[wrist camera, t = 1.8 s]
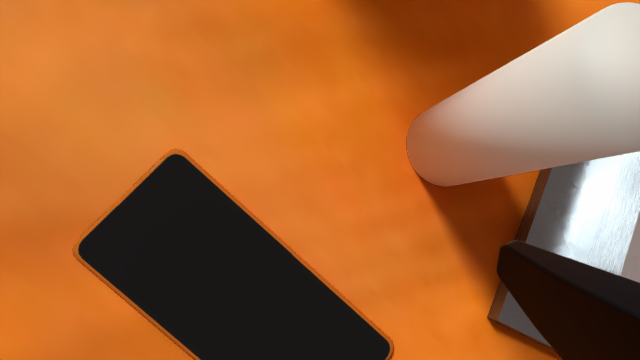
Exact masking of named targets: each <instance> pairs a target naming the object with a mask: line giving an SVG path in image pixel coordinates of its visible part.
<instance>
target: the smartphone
mask: <svg viewBox="0 0 640 360" xmlns="http://www.w3.org/2000/svg"><path fill="white" fill-rule="evenodd" d="M73 255H74V256H75V257H76V259H77V260H79V261H80V262H81V263H82V264H83V265H84V266H86V267H87V268H88V269H89V270H90V271H91V272H93V273H94V274H95V275H96V276H97V277H98V278H100V279H101V280H102V281H103V282H104V283H106V284H107V285H108V286H109V287H110V288H111V289H113V290H114V291H115V292H116V293H117V294H118V295H120V296H121V297H122V298H123V299H124V300H125V301H127V302H128V303H129V304H130V305H131V306H133V307H134V308H135V309H136V310H137V311H138V312H140V313H141V314H142V315H143V316H144V317H145V318H147V319H148V320H149V321H150V322H151V323H152V324H154V325H155V326H156V327H157V328H158V329H160V330H161V331H162V332H163V333H164V334H165V335H167V336H168V337H169V338H170V339H171V340H172V341H174V342H175V343H176V344H177V345H178V346H179V347H181V348H182V349H183V350H184V351H185V352H187V353H188V354H189V355H190V356H191V357H192V358H194V359H195V360H388V359H389V358H390V356H391V355H392V353H393V350H394V344H393V341H392V340H391V339H390V338H389V337H388V336H387V335H386V334H385V333H384V332H383V331H382V330H381V329H379V328H378V327H377V326H376V325H375V324H374V323H373V322H372V321H371V320H369V319H368V318H367V317H366V316H365V315H364V314H363V313H362V312H361V311H360V310H358V309H357V308H356V307H355V306H354V305H353V304H352V303H351V302H350V301H349V300H347V299H346V298H345V297H344V296H343V295H342V294H341V293H340V292H339V291H337V290H336V289H335V288H334V287H333V286H332V285H331V284H330V283H329V282H328V281H326V280H325V279H324V278H323V277H322V276H321V275H320V274H319V273H318V272H317V271H315V270H314V269H313V268H312V267H311V266H310V265H309V264H308V263H307V262H305V261H304V260H303V259H302V258H301V257H300V256H299V255H298V254H297V253H296V252H294V251H293V250H292V249H291V248H290V247H289V246H288V245H287V244H286V243H285V242H283V241H282V240H281V239H280V238H279V237H278V236H277V235H276V234H275V233H273V232H272V231H271V230H270V229H269V228H268V227H267V226H266V225H265V224H264V223H262V222H261V221H260V220H259V219H258V218H257V217H256V216H255V215H254V214H253V213H251V212H250V211H249V210H248V209H247V208H246V207H245V206H244V205H243V204H241V203H240V202H239V201H238V200H237V199H236V198H235V197H234V196H233V195H232V194H230V193H229V192H228V191H227V190H226V189H225V188H224V187H223V186H222V185H221V184H219V183H218V182H217V181H216V180H215V179H214V178H213V177H212V176H211V175H209V174H208V173H207V172H206V171H205V170H204V169H203V168H202V167H201V166H200V165H198V164H197V163H196V162H195V161H194V160H193V159H192V158H191V157H190V156H189V155H187V154H186V153H185V152H184V151H182V150H180V149H173V150H170V151H169V152H167V153H166V154H165V155H164V156H163V157H162V158H161V159H160V160H159V161H158V162H157V163H156V164H155V165H154V166H153V167H152V168H151V169H150V170H149V171H148V172H147V173H146V174H145V175H144V176H143V177H141V178H140V179H139V180H138V181H137V182H136V183H135V184H134V185H133V186H132V187H131V188H130V189H129V190H128V191H127V192H126V193H125V194H124V195H123V196H122V197H121V198H120V199H119V200H118V201H117V202H116V203H115V204H114V205H113V206H112V207H111V208H110V209H109V210H108V211H107V212H106V213H105V214H103V215H102V216H101V217H100V218H99V219H98V220H97V221H96V222H95V223H94V224H93V225H92V226H91V227H90V228H89V229H88V230H87V231H86V232H85V233H84V234H83V235H82V236H81V237H80V238H79V239H78V240H77V241H76V242H75V244H74V245H73Z"/></svg>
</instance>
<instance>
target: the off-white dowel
mask: <svg viewBox="0 0 640 360" xmlns="http://www.w3.org/2000/svg"><path fill="white" fill-rule="evenodd" d="M406 149H407V155H408V158H409V161H410V163H411V165H412V166H413V168H414V170H415V171H416V172H417V173H418V174H419V175H420V176H421V177H422V178H423V179H424V180H426V181H427V182H429V183H431V184H434V185H437V186H443V187H449V186H455V185H460V184H466V183H471V182H476V181H482V180H487V179H493V178H498V177H503V176H509V175H514V174H520V173H525V172H530V171H536V170H541V169H547V168H552V167H558V166H563V165H568V164H574V163H579V162H585V161H590V160H595V159H601V158H606V157H612V156H617V155H622V154H628V153H633V152H639V151H640V4H637V3H628V2H627V3H618V4H613V5H611V6H608V7H606V8H604V9H602V10H601V11H599V12H597V13H595V14H594V15H592V16H590V17H588V18H587V19H585V20H583V21H581V22H580V23H578V24H576V25H574V26H572V27H571V28H569V29H567V30H565V31H564V32H562V33H560V34H558V35H557V36H555V37H553V38H551V39H550V40H548V41H546V42H544V43H543V44H541V45H539V46H537V47H536V48H534V49H532V50H530V51H529V52H527V53H525V54H523V55H522V56H520V57H518V58H516V59H515V60H513V61H511V62H509V63H508V64H506V65H504V66H502V67H501V68H499V69H497V70H495V71H494V72H492V73H490V74H488V75H487V76H485V77H483V78H481V79H480V80H478V81H476V82H474V83H473V84H471V85H469V86H467V87H466V88H464V89H462V90H460V91H459V92H457V93H455V94H453V95H452V96H450V97H448V98H446V99H445V100H443V101H441V102H439V103H438V104H436V105H434V106H432V107H431V108H429V109H427V110H425V111H424V112H422V113H421V114H419V115H418V116H417V117H416V118H415V119H414V121H413V122H412V124H411V125H410V128H409V130H408V133H407V138H406Z"/></svg>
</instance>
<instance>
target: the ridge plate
mask: <svg viewBox="0 0 640 360" xmlns="http://www.w3.org/2000/svg"><path fill="white" fill-rule="evenodd" d="M516 240H518V241H522V242H525V243H528V244H530V245H533V246H536V247H539V248H542V249H545V250H548V251H550V252H553V253H556V254H559V255H562V256H565V257H568V258H571V259H573V260H576V261H579V262H582V263H585V264H588V265H591V266H593V267H596V268H599V269H602V270H605V271H608V272H611V273H613V274H616V275H619V276H622V277H625V278H628V279H631V280H634V281H636V282H639V283H640V151H639V152H633V153H628V154H622V155H617V156H612V157H606V158H601V159H595V160H590V161H585V162H579V163H574V164H568V165H563V166H558V167H552V168H547V169H541V171H540V173H539V176H538V179H537V182H536V184H535V187H534V190H533V193H532V195H531V198H530V201H529V204H528V206H527V209H526V212H525V215H524V218H523V220H522V223H521V226H520V229H519V231H518V234H517V237H516ZM488 318H490V319H492V320H494V321H496V322H498V323H500V324H502V325H504V326H506V327H508V328H510V329H512V330H514V331H516V332H518V333H520V334H522V335H524V336H526V337H529V338H531V339H533V340H535V341H537V342H539V343H541V344H543V345H545V346H547V347H549V348H551V349H553V348H552V347H551V346H550V344H549V343H548V342H547V341H546V340H545V339H544V338H543V336H542V335H541V334H540V333H539V332H538V330H537V329H536V328H535V327H534V325H533V324H532V323H531V321H530V320H529V318H528V317H527V316H526V314H525V313H524V312H523V310H522V309H521V307H520V306H519V305H518V303H517V302H516V300H515V299H514V298H513V296H512V295H511V293H510V292H509V291H508V289H507V288H506V286H505V285H504V284H503V282H502V281H500V284H499V287H498V289H497V292H496V295H495V298H494V300H493V303H492V306H491V309H490V311H489V314H488ZM553 350H554V349H553Z"/></svg>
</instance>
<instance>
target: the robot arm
mask: <svg viewBox="0 0 640 360" xmlns="http://www.w3.org/2000/svg"><path fill="white" fill-rule="evenodd" d="M497 273H498V276H499V278H500V280H501V281H502V282H503V284H504V285H505V286H506V288H507V289H508V291H509V292H510V293H511V295H512V296H513V298H514V299H515V300H516V302H517V303H518V305H519V306H520V307H521V309H522V310H523V312H524V313H525V314H526V316H527V317H528V318H529V320H530V321H531V323H532V324H533V325H534V327H535V328H536V329H537V330H538V332H539V333H540V334H541V335H542V336H543V338H544V339H545V340H546V341H547V342H548V343H549V344H550V346H551V347H552V348H553V349H554V350H555V351H556V352H557V354H558V355H559V356H560V357H561V358H562V359H563V360H640V283H639V282H636V281H634V280H631V279H628V278H625V277H622V276H619V275H616V274H613V273H611V272H608V271H605V270H602V269H599V268H596V267H593V266H591V265H588V264H585V263H582V262H579V261H576V260H573V259H571V258H568V257H565V256H562V255H559V254H556V253H553V252H550V251H548V250H545V249H542V248H539V247H536V246H533V245H530V244H528V243H525V242H522V241H518V240H514V241H511V242H508V243H506V244H503V245H502V246H501V247H500V250H499V256H498V263H497Z"/></svg>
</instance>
